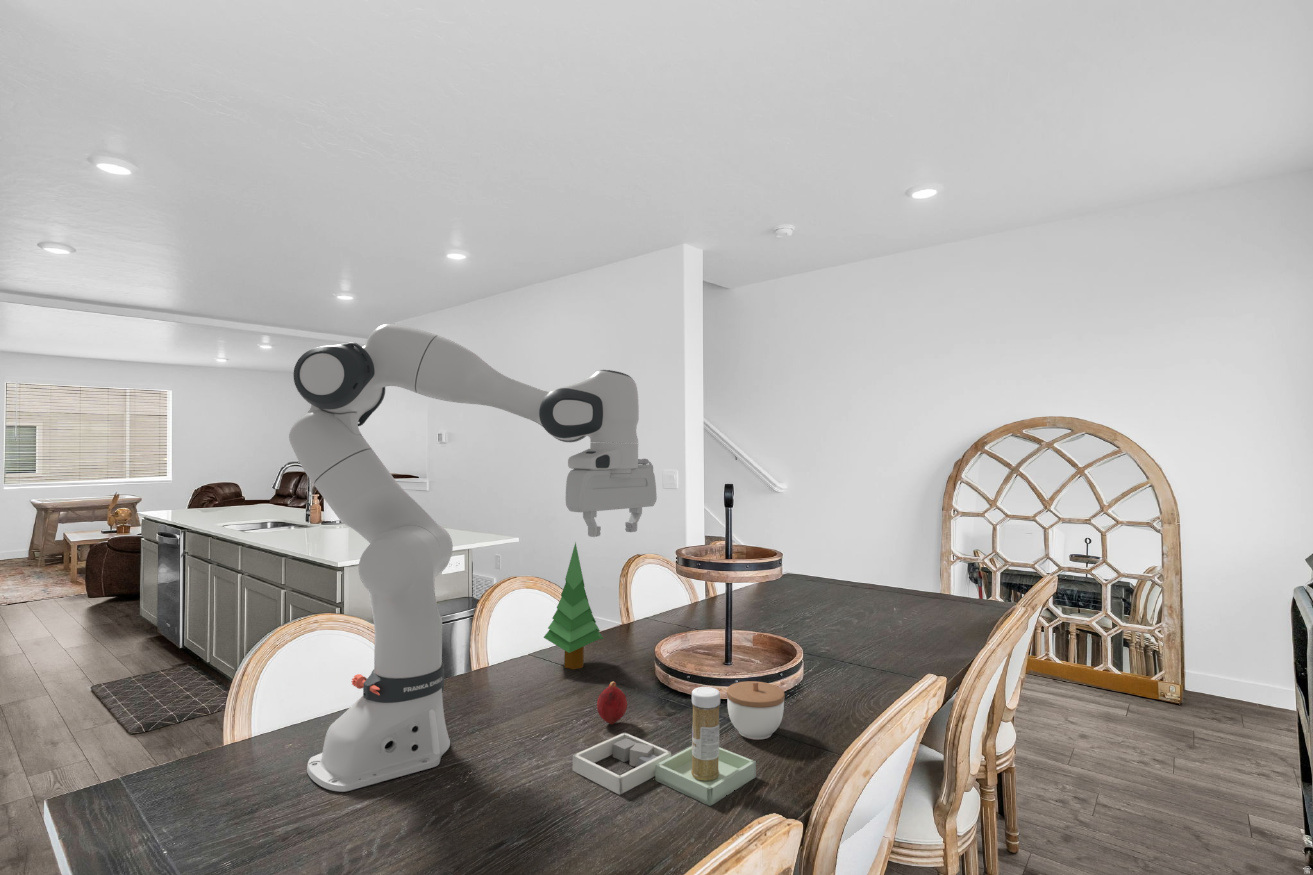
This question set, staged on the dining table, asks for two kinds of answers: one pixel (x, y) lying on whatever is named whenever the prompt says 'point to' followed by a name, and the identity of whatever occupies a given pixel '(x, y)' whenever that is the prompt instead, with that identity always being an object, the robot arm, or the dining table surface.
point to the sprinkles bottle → (705, 733)
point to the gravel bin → (624, 750)
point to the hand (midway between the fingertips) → (613, 534)
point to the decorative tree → (573, 618)
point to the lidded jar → (755, 708)
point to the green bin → (680, 778)
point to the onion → (611, 704)
